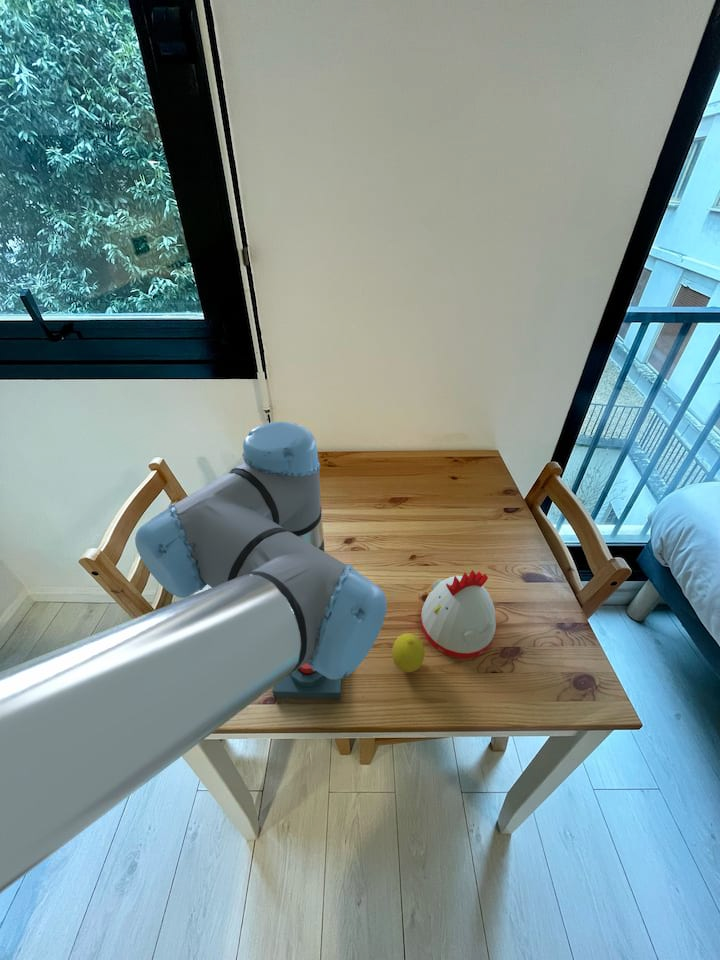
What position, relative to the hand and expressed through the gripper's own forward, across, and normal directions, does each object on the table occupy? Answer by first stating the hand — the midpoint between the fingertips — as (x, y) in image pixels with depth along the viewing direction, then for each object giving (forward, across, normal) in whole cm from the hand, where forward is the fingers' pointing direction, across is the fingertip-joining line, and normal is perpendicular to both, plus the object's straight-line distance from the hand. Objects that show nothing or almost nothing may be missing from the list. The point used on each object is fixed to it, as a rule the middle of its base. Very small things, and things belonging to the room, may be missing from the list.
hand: (307, 643), depth 65 cm
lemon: (+10, -17, -2) cm, 19 cm away
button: (+6, 0, 0) cm, 6 cm away
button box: (+9, 0, 0) cm, 9 cm away
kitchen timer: (+10, -27, -11) cm, 31 cm away
